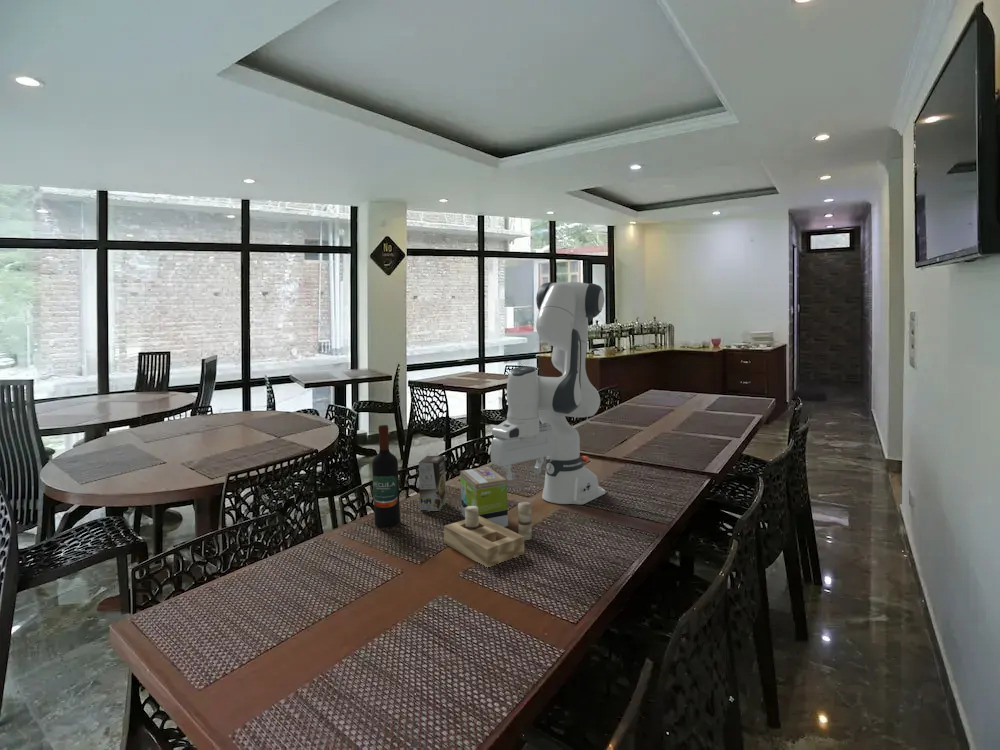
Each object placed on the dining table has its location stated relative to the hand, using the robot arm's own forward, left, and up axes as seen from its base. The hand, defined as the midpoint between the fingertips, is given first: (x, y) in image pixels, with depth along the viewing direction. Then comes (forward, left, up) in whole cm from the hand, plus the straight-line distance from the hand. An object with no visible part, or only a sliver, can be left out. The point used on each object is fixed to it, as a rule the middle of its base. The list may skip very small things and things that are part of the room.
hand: (523, 476), depth 160 cm
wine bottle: (+24, -36, -18) cm, 47 cm away
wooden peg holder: (+13, -2, -18) cm, 22 cm away
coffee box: (+6, -39, -18) cm, 43 cm away
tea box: (+1, -18, -18) cm, 26 cm away
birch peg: (0, 0, -18) cm, 18 cm away
